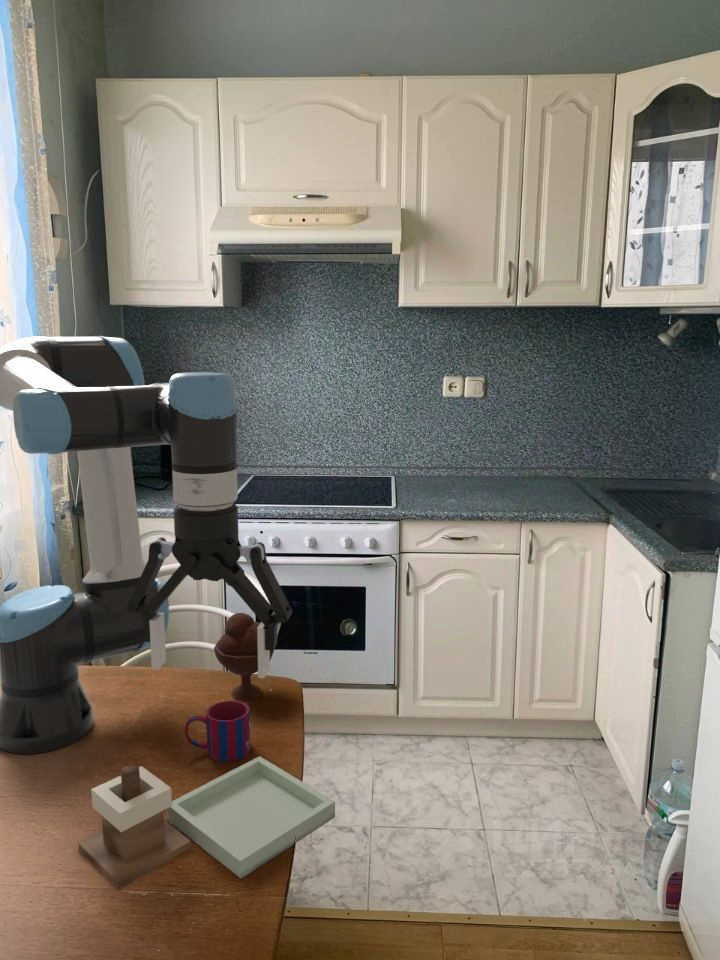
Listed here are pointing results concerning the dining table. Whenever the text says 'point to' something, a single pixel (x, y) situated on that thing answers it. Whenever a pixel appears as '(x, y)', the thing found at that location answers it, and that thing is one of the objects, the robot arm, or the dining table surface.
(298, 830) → the tray
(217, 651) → the ice cream bowl
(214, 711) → the mug
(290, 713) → the dining table surface
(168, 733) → the dining table surface
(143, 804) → the ring
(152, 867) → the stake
